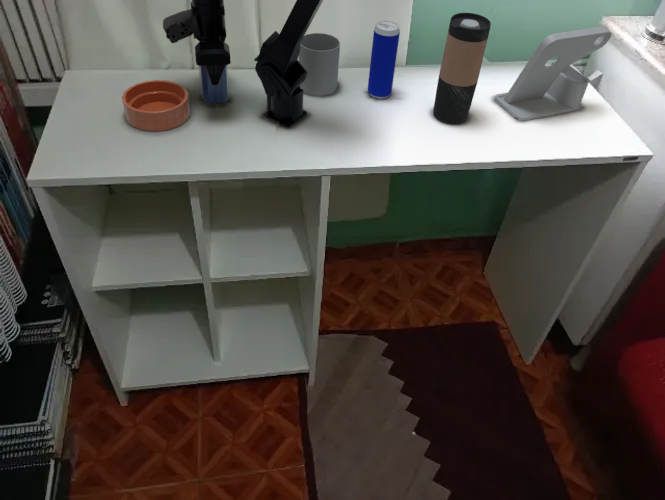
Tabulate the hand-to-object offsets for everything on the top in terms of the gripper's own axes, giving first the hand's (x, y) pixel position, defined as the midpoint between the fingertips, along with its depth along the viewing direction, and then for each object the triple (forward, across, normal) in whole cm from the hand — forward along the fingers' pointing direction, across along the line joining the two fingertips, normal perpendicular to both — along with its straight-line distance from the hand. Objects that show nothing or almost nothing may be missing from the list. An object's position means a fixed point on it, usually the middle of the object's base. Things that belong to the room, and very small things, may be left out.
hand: (214, 77), depth 123 cm
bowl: (+5, +6, -11) cm, 14 cm away
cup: (+5, -4, +22) cm, 23 cm away
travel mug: (+5, +10, +47) cm, 49 cm away
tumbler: (+4, 0, 0) cm, 4 cm away
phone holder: (+5, +8, +68) cm, 69 cm away
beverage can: (+5, +1, +35) cm, 35 cm away
